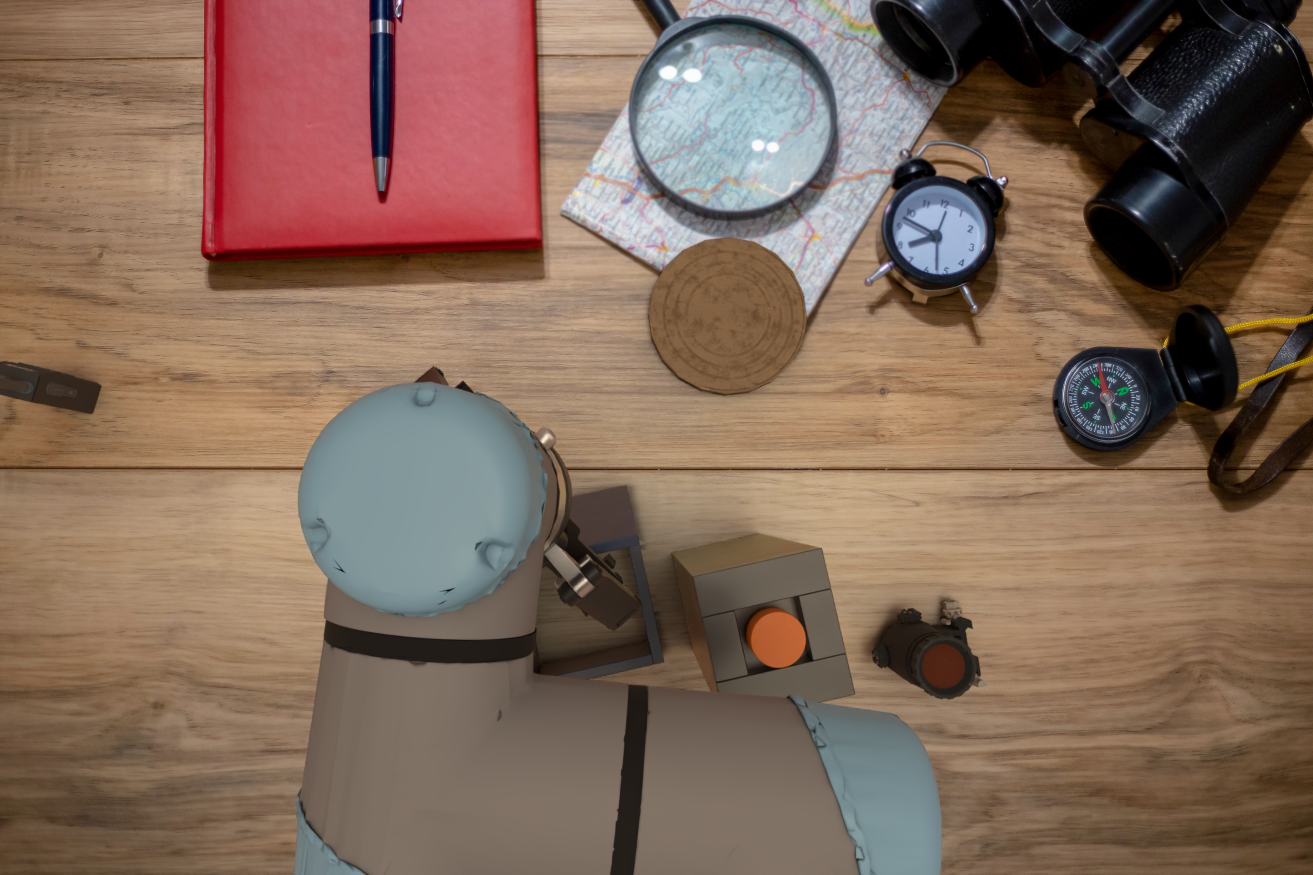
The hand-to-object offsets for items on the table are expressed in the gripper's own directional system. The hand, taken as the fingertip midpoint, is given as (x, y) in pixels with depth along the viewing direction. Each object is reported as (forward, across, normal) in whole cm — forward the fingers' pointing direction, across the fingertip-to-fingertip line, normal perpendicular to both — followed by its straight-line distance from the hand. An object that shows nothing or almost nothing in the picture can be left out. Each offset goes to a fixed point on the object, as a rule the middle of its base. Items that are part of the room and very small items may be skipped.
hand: (536, 498), depth 63 cm
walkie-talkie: (+26, +40, +29) cm, 56 cm away
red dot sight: (+26, -34, -17) cm, 46 cm away
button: (-4, -18, -6) cm, 19 cm away
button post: (+26, -18, -6) cm, 32 cm away
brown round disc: (+26, +3, -25) cm, 36 cm away
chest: (+26, -8, +4) cm, 27 cm away
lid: (+8, -3, +1) cm, 9 cm away
